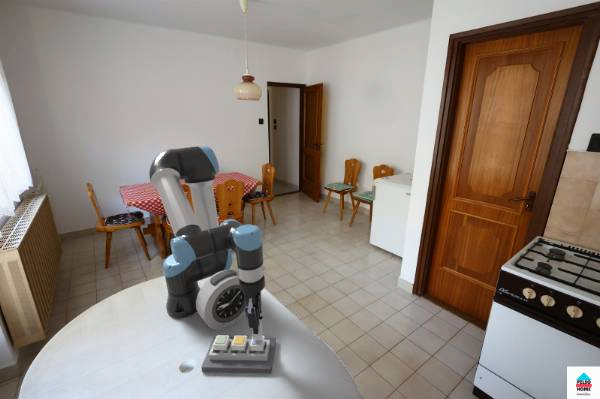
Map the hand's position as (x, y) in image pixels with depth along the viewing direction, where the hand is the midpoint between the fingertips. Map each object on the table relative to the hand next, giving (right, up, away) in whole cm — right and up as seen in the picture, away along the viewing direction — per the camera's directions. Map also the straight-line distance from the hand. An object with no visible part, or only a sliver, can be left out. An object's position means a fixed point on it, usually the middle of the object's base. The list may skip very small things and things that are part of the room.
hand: (257, 338), depth 91 cm
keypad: (-6, -7, +3) cm, 10 cm away
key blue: (0, -3, +1) cm, 3 cm away
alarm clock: (-15, -2, +21) cm, 25 cm away
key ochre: (-6, -3, +1) cm, 7 cm away
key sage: (-12, -3, +2) cm, 12 cm away
